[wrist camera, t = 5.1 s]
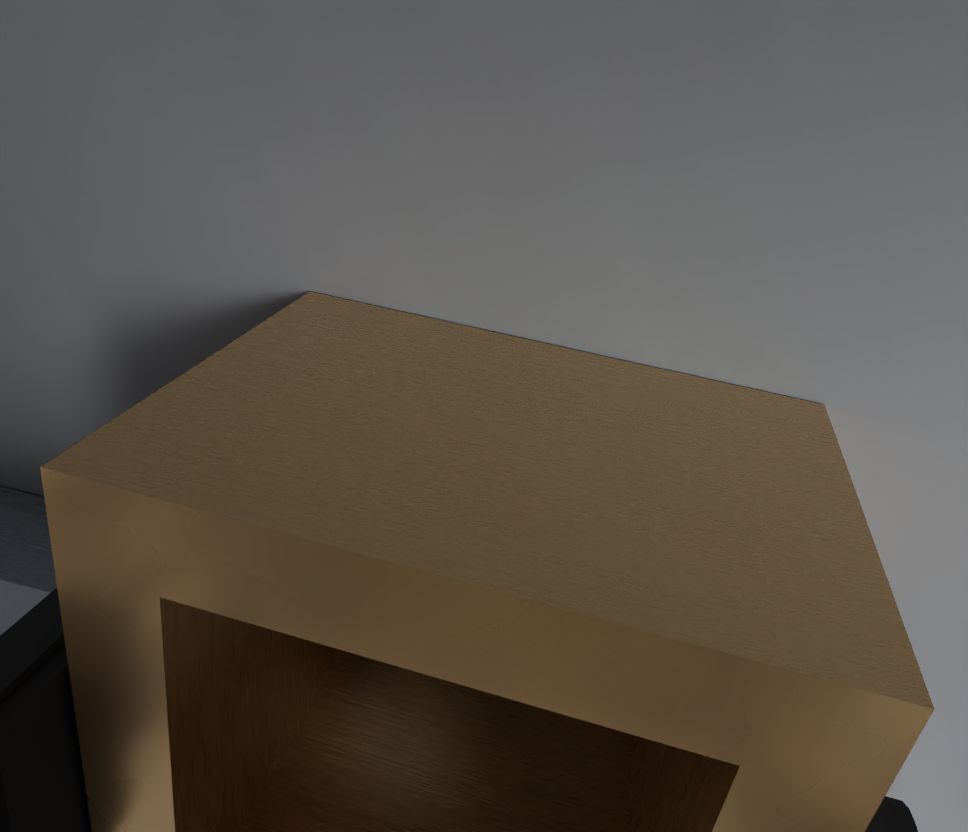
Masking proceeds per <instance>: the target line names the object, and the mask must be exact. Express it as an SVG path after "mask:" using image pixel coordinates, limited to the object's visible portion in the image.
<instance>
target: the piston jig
mask: <svg viewBox="0 0 968 832" xmlns="http://www.w3.org/2000/svg"><path fill="white" fill-rule="evenodd" d="M56 588H57V583H56V576H55V569H54V562H53V555H52V548H51V541H50V534H49V527H48V519H47V512H46V505H45V498H44V497H41V496H37V495H32V494H28V493H24V492H20V491H16V490H12V489H8V488H3V487H0V635H1V634H3V633H4V632H5V631H6V630H7V629H9V628H10V627H11V626H12V625H13V624H14V623H16V622H17V621H18V620H19V619H20V618H21V617H23V616H24V615H25V614H26V613H27V612H28V611H30V610H31V609H32V608H33V607H34V606H36V605H37V604H38V603H39V602H40V601H41V600H43V599H44V598H45V597H46V596H47V595H48V594H50V593H51V592H52V591H53V590H54V589H56Z"/></svg>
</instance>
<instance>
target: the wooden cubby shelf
mask: <svg viewBox="0 0 968 832" xmlns="http://www.w3.org/2000/svg"><path fill="white" fill-rule="evenodd" d="M40 470H41V477H42V484H43V491H44V498H45V505H46V512H47V519H48V527H49V534H50V541H51V548H52V555H53V562H54V569H55V576H56V583H57V590H58V597H59V604H60V611H61V618H62V625H63V632H64V639H65V646H66V653H67V660H68V667H69V674H70V681H71V688H72V695H73V702H74V709H75V716H76V723H77V730H78V737H79V744H80V751H81V758H82V765H83V772H84V779H85V786H86V794H87V801H88V808H89V815H90V822H91V829H92V832H865V830H866V829H867V827H868V825H869V823H870V822H871V820H872V818H873V816H874V815H875V813H876V811H877V809H878V807H879V806H880V804H881V802H882V800H883V799H884V797H885V795H886V793H887V792H888V790H889V788H890V786H891V785H892V783H893V781H894V779H895V777H896V776H897V774H898V772H899V770H900V769H901V767H902V765H903V763H904V762H905V760H906V758H907V756H908V754H909V753H910V751H911V749H912V747H913V746H914V744H915V742H916V740H917V739H918V737H919V735H920V733H921V732H922V730H923V728H924V726H925V724H926V723H927V721H928V719H929V717H930V716H931V714H932V712H933V710H934V707H933V704H932V702H931V699H930V696H929V693H928V691H927V688H926V685H925V682H924V679H923V677H922V674H921V671H920V668H919V666H918V663H917V660H916V657H915V654H914V652H913V649H912V646H911V643H910V641H909V638H908V635H907V632H906V630H905V627H904V624H903V621H902V618H901V616H900V613H899V610H898V607H897V605H896V602H895V599H894V596H893V594H892V591H891V588H890V585H889V582H888V580H887V577H886V574H885V571H884V569H883V566H882V563H881V560H880V557H879V555H878V552H877V549H876V546H875V544H874V541H873V538H872V535H871V533H870V530H869V527H868V524H867V521H866V519H865V516H864V513H863V510H862V508H861V505H860V502H859V499H858V496H857V494H856V491H855V488H854V485H853V483H852V480H851V477H850V474H849V472H848V469H847V466H846V463H845V460H844V458H843V455H842V452H841V449H840V447H839V444H838V441H837V438H836V436H835V433H834V430H833V427H832V424H831V422H830V419H829V416H828V413H827V411H826V408H825V405H824V404H819V403H814V402H810V401H805V400H801V399H796V398H792V397H787V396H783V395H778V394H774V393H769V392H765V391H760V390H755V389H751V388H746V387H742V386H737V385H733V384H728V383H724V382H719V381H715V380H710V379H705V378H701V377H696V376H692V375H687V374H683V373H678V372H674V371H669V370H665V369H660V368H655V367H651V366H646V365H642V364H637V363H633V362H628V361H624V360H619V359H615V358H610V357H606V356H601V355H596V354H592V353H587V352H583V351H578V350H574V349H569V348H565V347H560V346H556V345H551V344H546V343H542V342H537V341H533V340H528V339H524V338H519V337H515V336H510V335H506V334H501V333H497V332H492V331H487V330H483V329H478V328H474V327H469V326H465V325H460V324H456V323H451V322H447V321H442V320H437V319H433V318H428V317H424V316H419V315H415V314H410V313H406V312H401V311H397V310H392V309H387V308H383V307H378V306H374V305H369V304H365V303H360V302H356V301H351V300H347V299H342V298H338V297H333V296H328V295H324V294H319V293H315V292H310V291H309V292H308V293H306V294H305V295H303V296H302V297H300V298H299V299H297V300H296V301H294V302H292V303H291V304H289V305H288V306H286V307H285V308H283V309H282V310H280V311H279V312H277V313H276V314H274V315H273V316H271V317H269V318H268V319H266V320H265V321H263V322H262V323H260V324H259V325H257V326H256V327H254V328H253V329H251V330H250V331H248V332H246V333H245V334H243V335H242V336H240V337H239V338H237V339H236V340H234V341H233V342H231V343H230V344H228V345H227V346H225V347H223V348H222V349H220V350H219V351H217V352H216V353H214V354H213V355H211V356H210V357H208V358H207V359H205V360H204V361H202V362H200V363H199V364H197V365H196V366H194V367H193V368H191V369H190V370H188V371H187V372H185V373H184V374H182V375H181V376H179V377H177V378H176V379H174V380H173V381H171V382H170V383H168V384H167V385H165V386H164V387H162V388H161V389H159V390H158V391H156V392H154V393H153V394H151V395H150V396H148V397H147V398H145V399H144V400H142V401H141V402H139V403H138V404H136V405H135V406H133V407H131V408H130V409H128V410H127V411H125V412H124V413H122V414H121V415H119V416H118V417H116V418H115V419H113V420H112V421H110V422H108V423H107V424H105V425H104V426H102V427H101V428H99V429H98V430H96V431H95V432H93V433H92V434H90V435H89V436H87V437H85V438H84V439H82V440H81V441H79V442H78V443H76V444H75V445H73V446H72V447H70V448H69V449H67V450H66V451H64V452H62V453H61V454H59V455H58V456H56V457H55V458H53V459H52V460H50V461H49V462H47V463H46V464H44V465H43V466H41V467H40Z"/></svg>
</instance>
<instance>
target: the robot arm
mask: <svg viewBox="0 0 968 832" xmlns="http://www.w3.org/2000/svg"><path fill="white" fill-rule="evenodd" d="M0 832H92V829H91V822H90V815H89V808H88V801H87V794H86V786H85V779H84V772H83V765H82V758H81V751H80V744H79V737H78V730H77V723H76V716H75V709H74V702H73V695H72V688H71V681H70V674H69V667H68V660H67V653H66V646H65V639H64V632H63V625H62V618H61V611H60V604H59V597H58V590H57V588H56V589H54V590H53V591H52V592H51V593H50V594H48V595H47V596H46V597H45V598H44V599H43V600H41V601H40V602H39V603H38V604H37V605H36V606H34V607H33V608H32V609H31V610H30V611H28V612H27V613H26V614H25V615H24V616H23V617H21V618H20V619H19V620H18V621H17V622H16V623H14V624H13V625H12V626H11V627H10V628H9V629H7V630H6V631H5V632H4V633H3V634H1V635H0ZM865 832H918V830H917V827H916V824H915V821H914V819H913V817H912V814H911V812H910V810H909V808H908V807H907V806H906V805H905V804H904V803H903V801H900V800H897V799H893V798H889V797H886V796H885V797H884V799H883V800H882V802H881V804H880V806H879V807H878V809H877V811H876V813H875V815H874V816H873V818H872V820H871V822H870V823H869V825H868V827H867V829H866V830H865Z"/></svg>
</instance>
